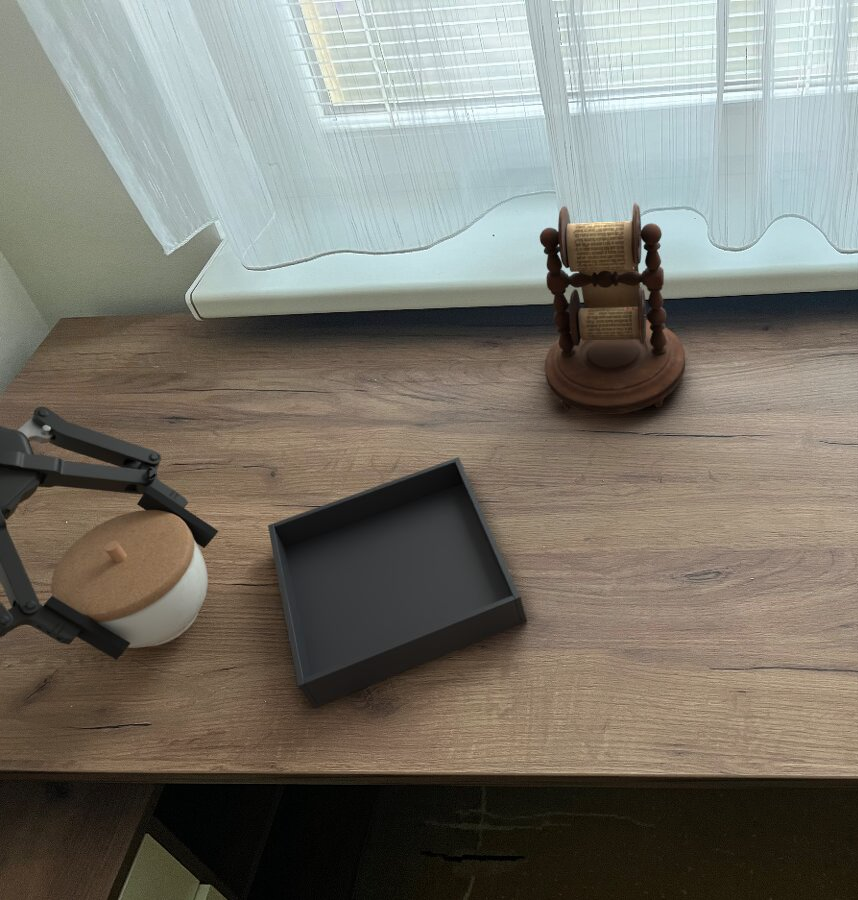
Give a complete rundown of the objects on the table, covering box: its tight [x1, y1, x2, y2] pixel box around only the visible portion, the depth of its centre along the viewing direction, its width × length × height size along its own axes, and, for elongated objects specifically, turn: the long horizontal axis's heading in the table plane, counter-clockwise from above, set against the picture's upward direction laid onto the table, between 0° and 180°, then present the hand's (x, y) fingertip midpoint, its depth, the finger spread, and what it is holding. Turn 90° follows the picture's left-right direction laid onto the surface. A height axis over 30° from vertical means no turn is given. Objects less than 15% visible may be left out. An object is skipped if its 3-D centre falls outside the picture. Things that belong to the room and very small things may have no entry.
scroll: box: [539, 202, 686, 415], centre depth 86 cm, size 15×15×20 cm
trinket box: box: [50, 509, 209, 649], centre depth 71 cm, size 11×11×9 cm
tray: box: [267, 456, 528, 709], centre depth 75 cm, size 18×18×3 cm
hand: (170, 592), depth 71 cm, fingers closed on trinket box, 11 cm apart
